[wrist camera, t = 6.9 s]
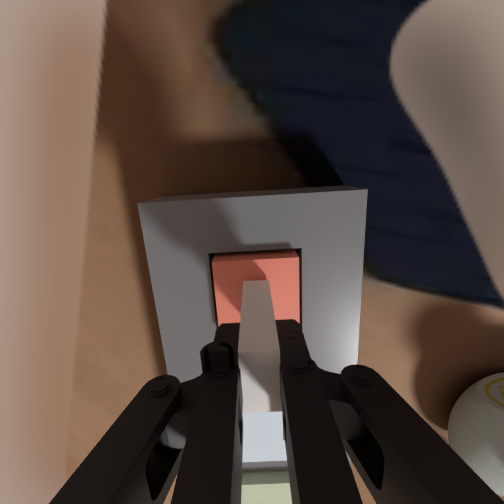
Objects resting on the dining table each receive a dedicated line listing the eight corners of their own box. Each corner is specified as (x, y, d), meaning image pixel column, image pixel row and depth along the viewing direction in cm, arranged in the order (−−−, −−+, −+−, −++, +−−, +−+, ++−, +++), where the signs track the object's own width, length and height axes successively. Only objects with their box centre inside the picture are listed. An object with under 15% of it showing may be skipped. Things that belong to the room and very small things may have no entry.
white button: (227, 370, 20) (223, 404, 17) (296, 367, 20) (303, 400, 17) (232, 423, 22) (230, 462, 19) (296, 420, 22) (304, 459, 19)
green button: (237, 447, 24) (235, 485, 21) (295, 444, 24) (301, 482, 21) (241, 488, 25) (240, 529, 23) (296, 485, 25) (301, 526, 22)
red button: (217, 247, 19) (211, 262, 16) (291, 243, 19) (298, 257, 16) (224, 313, 20) (219, 337, 17) (293, 310, 20) (299, 333, 17)
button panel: (159, 196, 20) (137, 203, 16) (344, 185, 19) (367, 189, 15) (205, 494, 28) (198, 546, 24) (333, 489, 28) (346, 540, 24)
